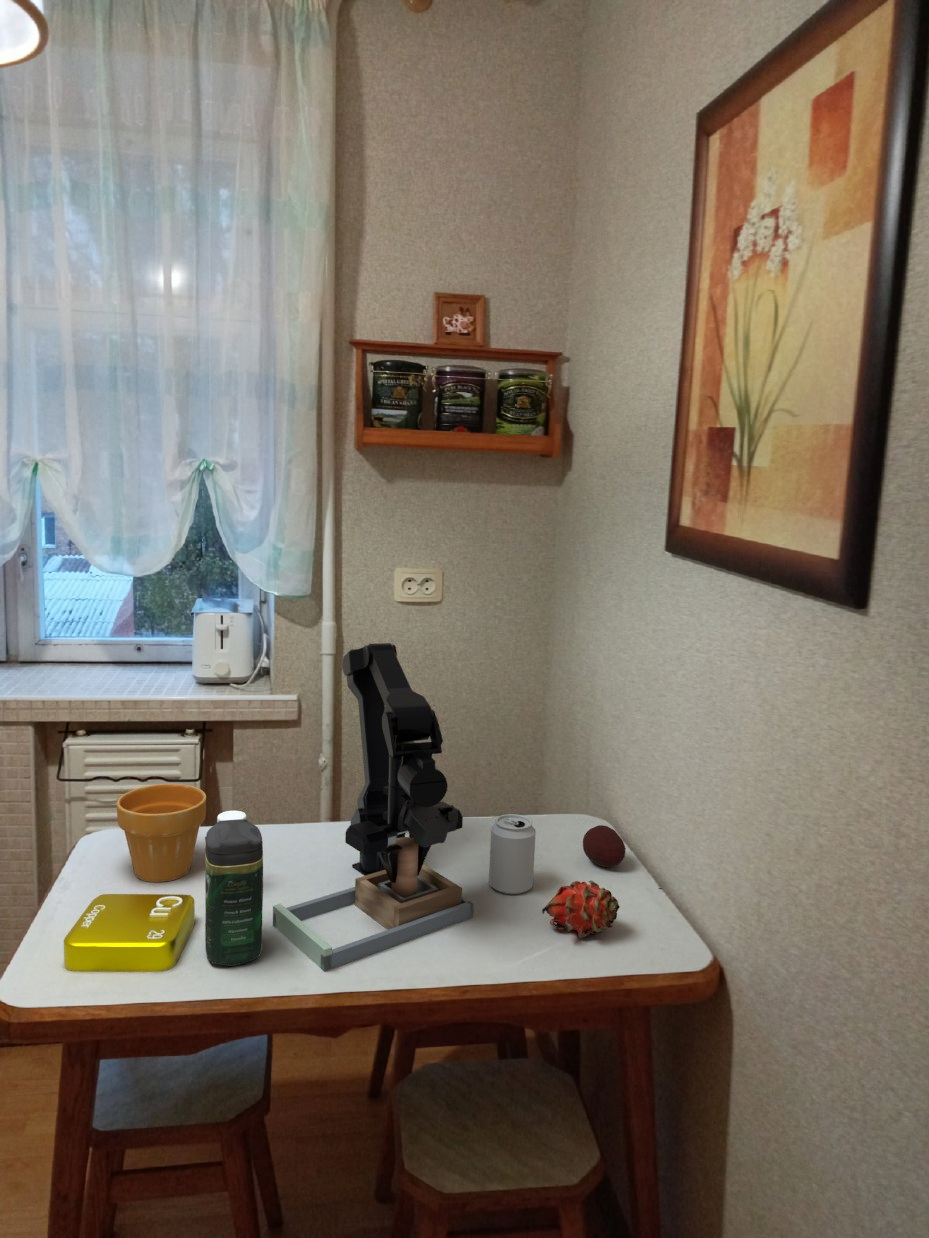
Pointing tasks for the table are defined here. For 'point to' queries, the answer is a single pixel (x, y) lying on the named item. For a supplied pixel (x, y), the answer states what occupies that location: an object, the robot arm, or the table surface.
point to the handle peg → (406, 867)
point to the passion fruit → (604, 846)
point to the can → (512, 854)
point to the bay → (330, 958)
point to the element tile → (130, 933)
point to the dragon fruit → (582, 908)
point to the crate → (397, 910)
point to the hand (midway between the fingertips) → (404, 878)
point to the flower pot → (161, 828)
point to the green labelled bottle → (233, 892)
